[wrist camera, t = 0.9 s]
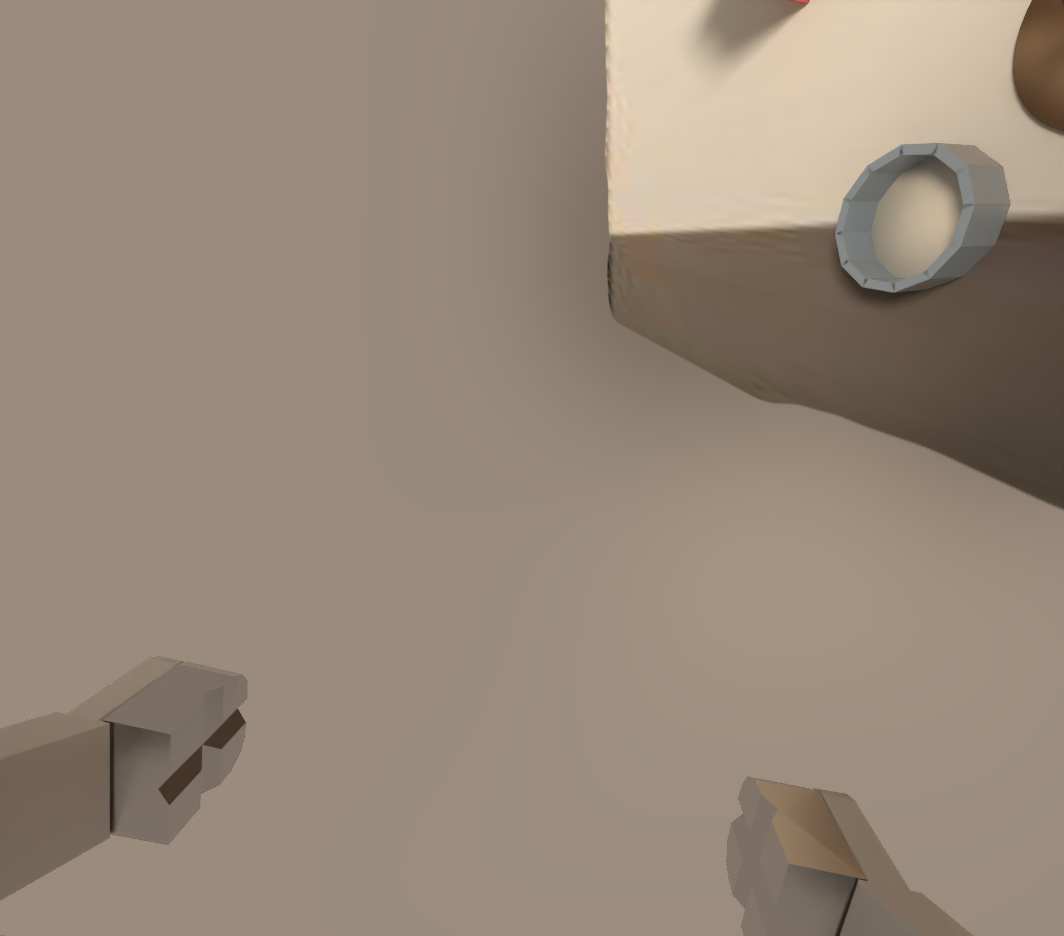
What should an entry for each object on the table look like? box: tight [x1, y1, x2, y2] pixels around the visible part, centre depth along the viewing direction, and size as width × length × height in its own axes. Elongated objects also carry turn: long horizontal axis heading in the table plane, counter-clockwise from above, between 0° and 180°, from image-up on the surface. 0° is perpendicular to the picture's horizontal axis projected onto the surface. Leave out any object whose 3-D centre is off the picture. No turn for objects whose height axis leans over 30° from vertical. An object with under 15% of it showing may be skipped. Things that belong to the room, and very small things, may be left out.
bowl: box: [835, 143, 1010, 293], centre depth 51 cm, size 12×12×5 cm
